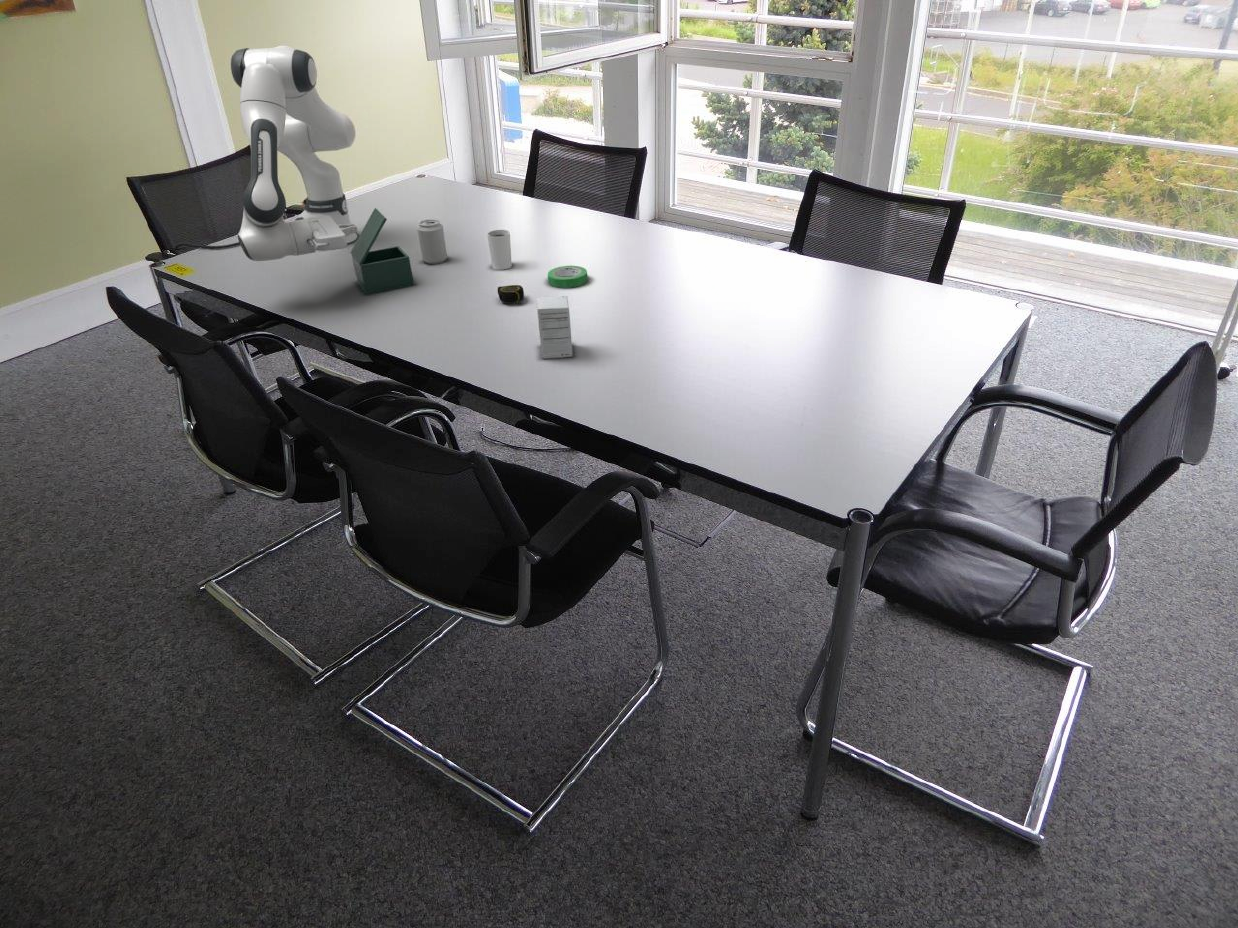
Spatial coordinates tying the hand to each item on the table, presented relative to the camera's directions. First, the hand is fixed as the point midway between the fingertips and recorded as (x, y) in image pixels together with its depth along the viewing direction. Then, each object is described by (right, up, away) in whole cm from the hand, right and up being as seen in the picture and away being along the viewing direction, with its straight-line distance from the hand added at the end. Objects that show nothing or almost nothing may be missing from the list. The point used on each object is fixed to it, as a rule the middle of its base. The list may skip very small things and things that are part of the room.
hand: (356, 228), depth 238 cm
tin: (+5, -13, +11) cm, 18 cm away
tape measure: (+43, -21, -3) cm, 48 cm away
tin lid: (+3, -2, +3) cm, 4 cm away
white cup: (+37, -6, +20) cm, 43 cm away
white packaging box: (+57, -38, -31) cm, 76 cm away
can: (+16, -3, +26) cm, 31 cm away
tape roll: (+58, -13, +8) cm, 60 cm away
